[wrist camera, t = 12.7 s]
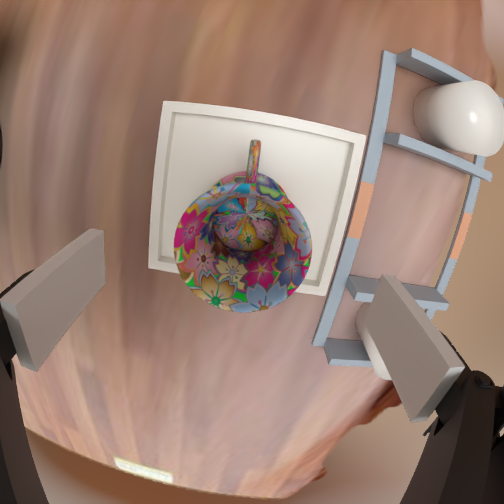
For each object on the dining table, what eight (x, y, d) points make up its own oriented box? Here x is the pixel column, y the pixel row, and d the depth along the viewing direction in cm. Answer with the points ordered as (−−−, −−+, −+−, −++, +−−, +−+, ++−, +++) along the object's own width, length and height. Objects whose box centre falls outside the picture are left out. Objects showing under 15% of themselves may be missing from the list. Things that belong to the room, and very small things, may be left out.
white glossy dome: (407, 136, 27) (450, 141, 20) (417, 77, 24) (459, 67, 17) (455, 155, 27) (500, 166, 20) (464, 100, 25) (509, 100, 17)
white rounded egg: (347, 336, 36) (364, 380, 29) (366, 289, 34) (390, 328, 26) (393, 339, 37) (414, 379, 29) (413, 295, 34) (442, 331, 27)
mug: (286, 261, 32) (298, 319, 22) (197, 250, 31) (172, 304, 22) (304, 145, 27) (331, 152, 17) (207, 133, 27) (180, 133, 17)
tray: (153, 260, 33) (148, 268, 31) (169, 102, 26) (163, 100, 24) (321, 287, 33) (325, 296, 32) (359, 135, 27) (366, 135, 25)
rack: (311, 342, 36) (316, 364, 33) (382, 51, 23) (398, 42, 20) (414, 349, 37) (424, 367, 34) (490, 104, 24) (511, 104, 21)
